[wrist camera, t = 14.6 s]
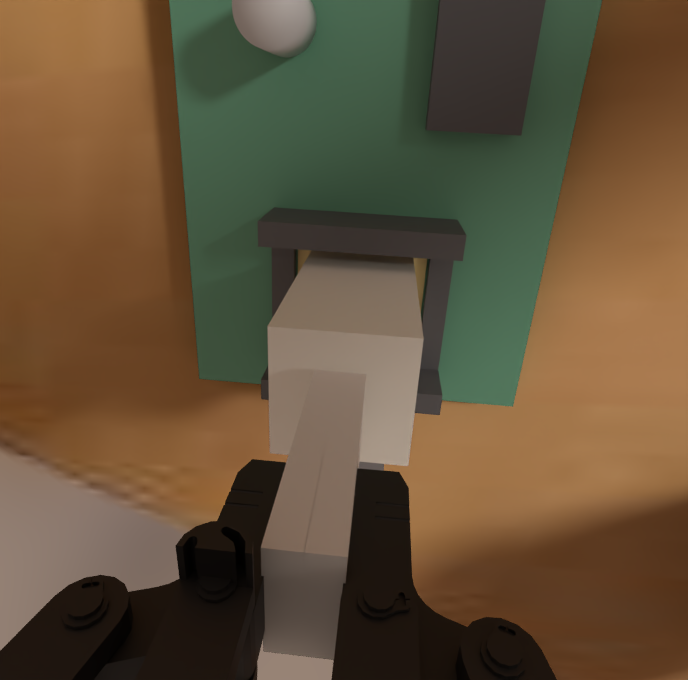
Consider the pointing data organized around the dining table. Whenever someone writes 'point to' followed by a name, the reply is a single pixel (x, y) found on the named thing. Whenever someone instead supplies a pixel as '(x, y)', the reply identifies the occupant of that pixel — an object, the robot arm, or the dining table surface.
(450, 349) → the board
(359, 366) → the plug
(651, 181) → the dining table surface
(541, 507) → the dining table surface
